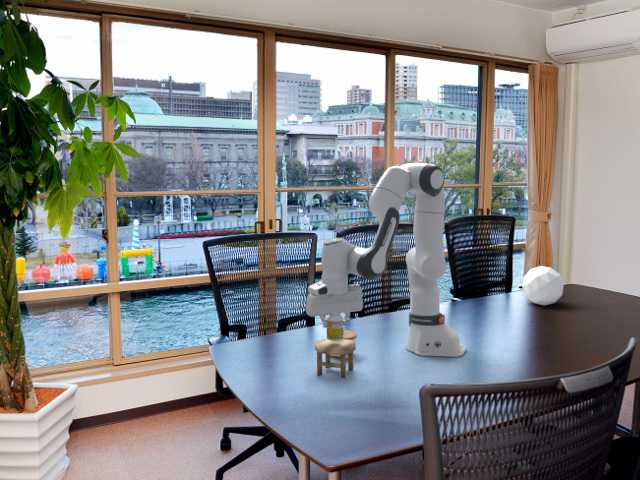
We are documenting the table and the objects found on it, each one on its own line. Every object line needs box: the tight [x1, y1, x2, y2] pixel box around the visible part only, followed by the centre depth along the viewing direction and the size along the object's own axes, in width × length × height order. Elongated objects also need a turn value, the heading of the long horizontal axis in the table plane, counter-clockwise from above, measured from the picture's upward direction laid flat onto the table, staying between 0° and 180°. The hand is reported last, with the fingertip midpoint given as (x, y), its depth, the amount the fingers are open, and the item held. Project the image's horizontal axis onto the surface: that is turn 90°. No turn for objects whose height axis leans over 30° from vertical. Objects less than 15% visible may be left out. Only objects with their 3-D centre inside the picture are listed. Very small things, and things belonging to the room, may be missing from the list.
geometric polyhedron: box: [522, 265, 565, 307], centre depth 303 cm, size 19×20×20 cm
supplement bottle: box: [326, 311, 344, 341], centre depth 207 cm, size 6×6×10 cm
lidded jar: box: [343, 329, 358, 356], centre depth 229 cm, size 11×11×9 cm
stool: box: [314, 338, 357, 380], centre depth 209 cm, size 14×14×10 cm
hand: (334, 326), depth 208 cm, fingers closed on supplement bottle, 6 cm apart
